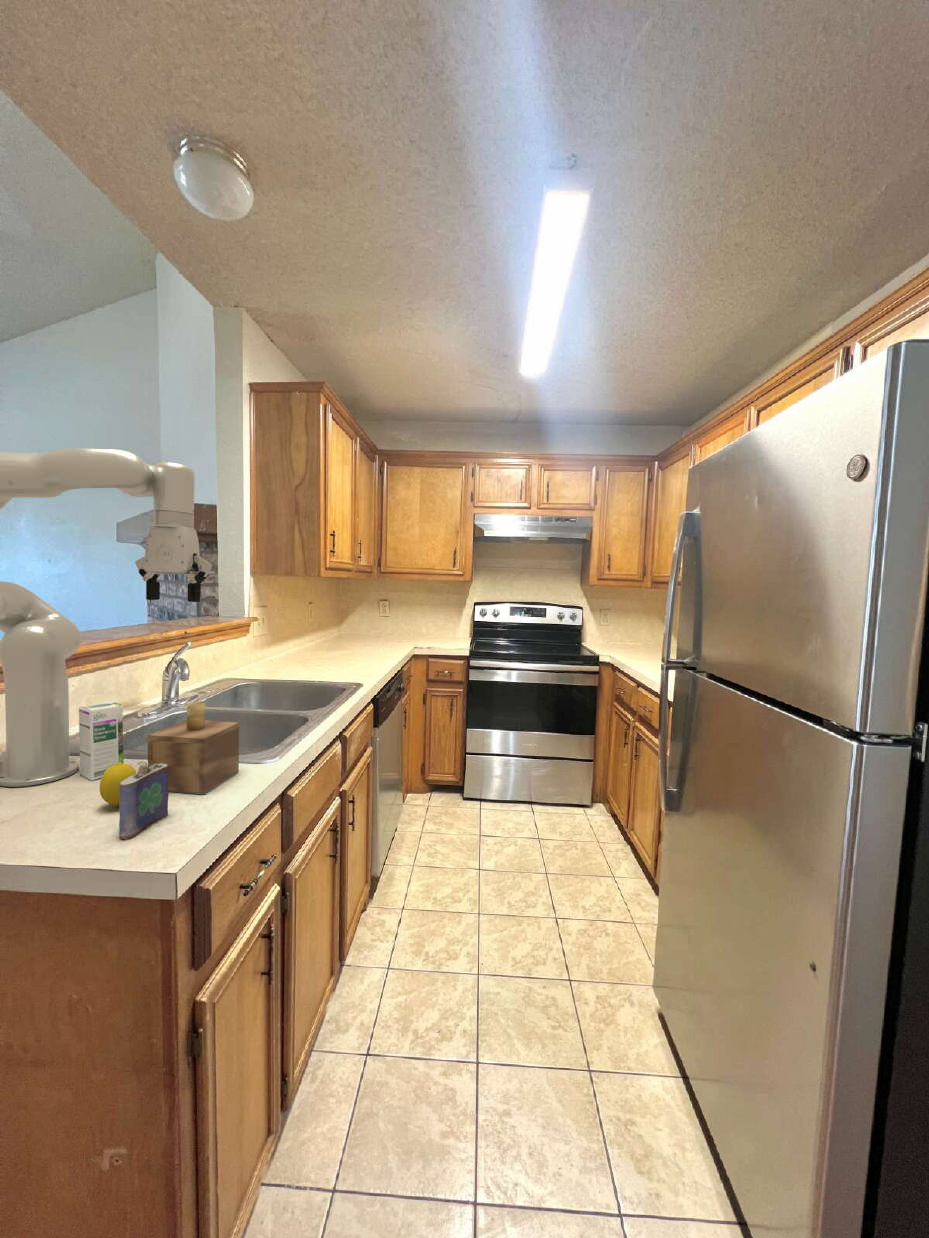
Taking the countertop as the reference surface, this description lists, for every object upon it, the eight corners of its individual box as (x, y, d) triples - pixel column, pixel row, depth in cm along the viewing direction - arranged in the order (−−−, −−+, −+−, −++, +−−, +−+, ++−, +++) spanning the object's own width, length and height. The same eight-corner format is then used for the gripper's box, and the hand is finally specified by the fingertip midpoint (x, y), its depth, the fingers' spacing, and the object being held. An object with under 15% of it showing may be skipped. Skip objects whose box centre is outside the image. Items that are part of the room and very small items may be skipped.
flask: (129, 840, 74) (129, 773, 73) (112, 839, 74) (111, 771, 73) (172, 813, 83) (172, 753, 82) (157, 812, 83) (157, 752, 82)
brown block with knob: (147, 788, 91) (147, 709, 90) (188, 766, 103) (188, 696, 102) (204, 793, 90) (204, 712, 89) (238, 770, 102) (239, 699, 101)
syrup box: (91, 781, 95) (90, 709, 94) (79, 774, 98) (78, 705, 97) (124, 772, 99) (123, 704, 99) (111, 766, 102) (110, 700, 102)
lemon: (118, 815, 81) (117, 769, 81) (91, 811, 83) (91, 765, 82) (145, 801, 87) (145, 758, 86) (120, 797, 88) (120, 755, 87)
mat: (151, 790, 92) (151, 788, 92) (189, 769, 103) (189, 767, 102) (205, 794, 91) (205, 792, 91) (238, 772, 101) (238, 771, 101)
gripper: (123, 518, 101) (123, 599, 101) (199, 520, 99) (198, 602, 100) (150, 523, 108) (150, 599, 109) (221, 525, 106) (220, 602, 107)
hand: (173, 600), depth 104 cm, fingers open, 9 cm apart
